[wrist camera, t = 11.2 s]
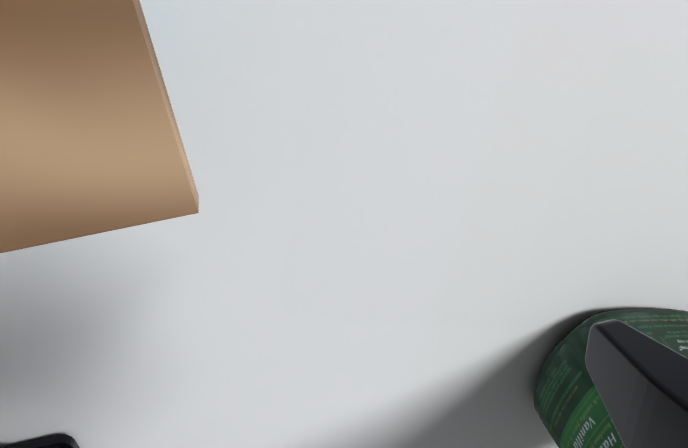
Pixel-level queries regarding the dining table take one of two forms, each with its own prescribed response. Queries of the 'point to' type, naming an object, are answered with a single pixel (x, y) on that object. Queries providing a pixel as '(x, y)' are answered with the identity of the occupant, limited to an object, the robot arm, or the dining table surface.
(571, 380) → the coffee jar
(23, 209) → the lid
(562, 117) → the dining table surface
